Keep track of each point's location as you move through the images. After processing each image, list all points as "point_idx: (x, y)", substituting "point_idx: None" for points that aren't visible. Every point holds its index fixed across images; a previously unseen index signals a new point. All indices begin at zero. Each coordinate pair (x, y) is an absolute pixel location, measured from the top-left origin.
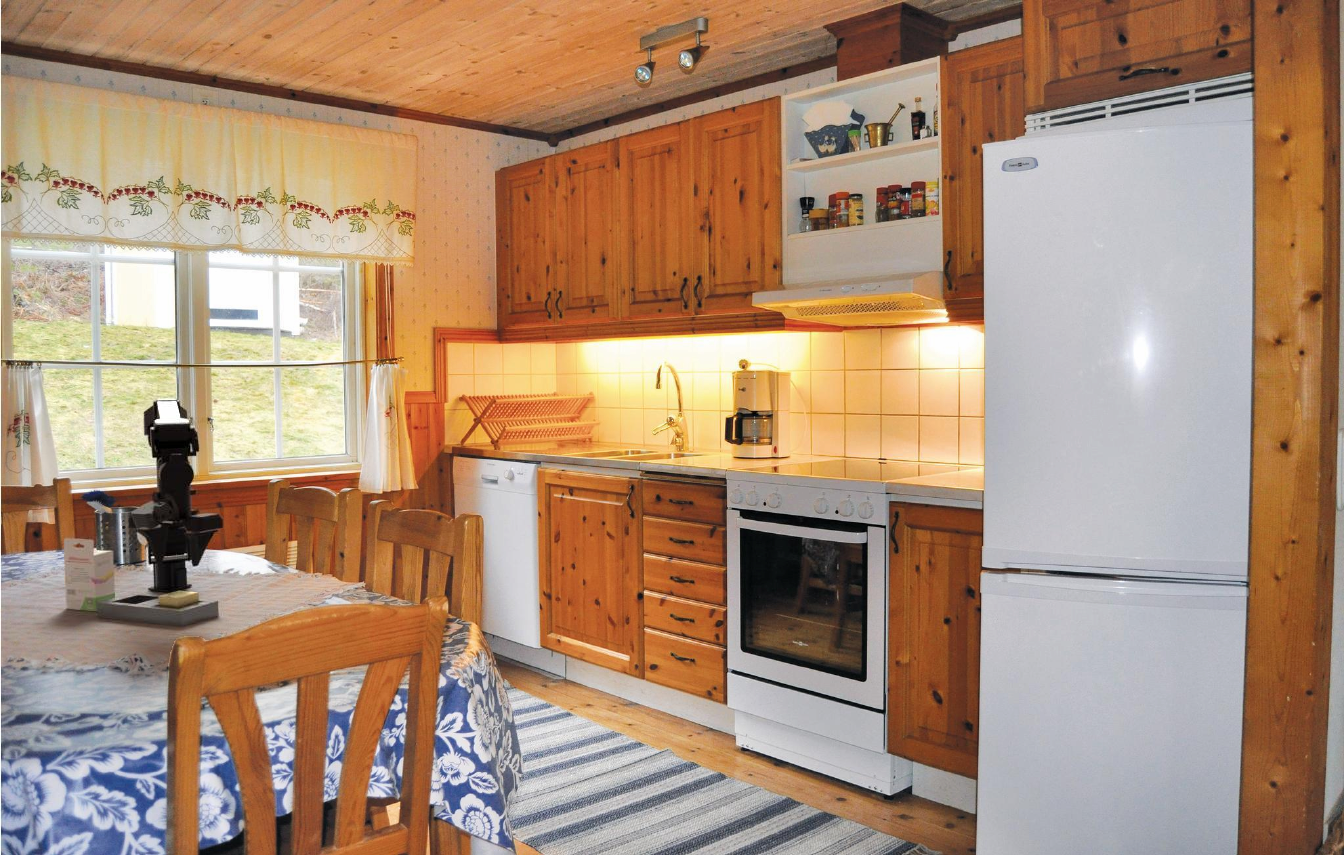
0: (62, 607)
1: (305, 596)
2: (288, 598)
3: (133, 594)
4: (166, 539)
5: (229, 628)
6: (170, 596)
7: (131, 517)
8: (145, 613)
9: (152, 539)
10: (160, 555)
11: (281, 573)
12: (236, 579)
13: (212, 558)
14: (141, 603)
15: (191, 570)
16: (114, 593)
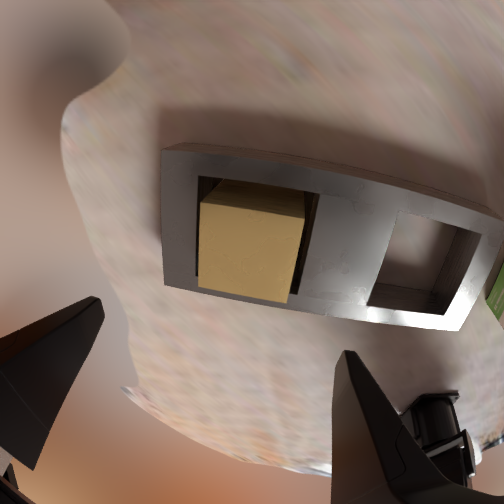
0: None
1: (154, 388)
2: (168, 381)
3: (457, 315)
4: (331, 492)
5: (75, 166)
6: (247, 218)
7: None
8: (331, 167)
9: (382, 479)
10: (340, 394)
11: (299, 465)
12: None
13: None
14: (385, 224)
15: None
16: (498, 319)
